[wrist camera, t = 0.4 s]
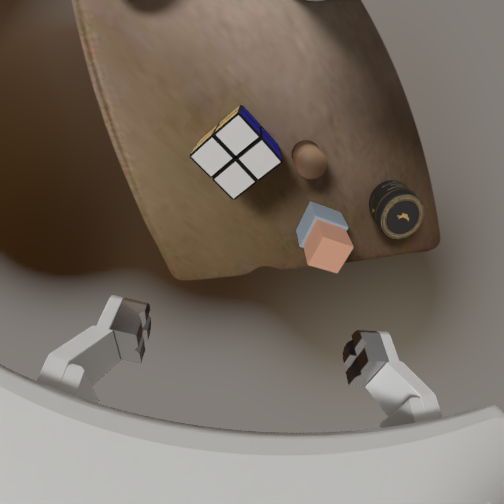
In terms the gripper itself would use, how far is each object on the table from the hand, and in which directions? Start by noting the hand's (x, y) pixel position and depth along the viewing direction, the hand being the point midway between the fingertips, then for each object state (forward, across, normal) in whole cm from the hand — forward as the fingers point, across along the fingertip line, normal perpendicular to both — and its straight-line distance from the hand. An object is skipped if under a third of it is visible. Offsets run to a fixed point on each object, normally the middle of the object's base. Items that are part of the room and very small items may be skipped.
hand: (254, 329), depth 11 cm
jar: (+45, -30, +9) cm, 54 cm away
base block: (+44, -16, +17) cm, 51 cm away
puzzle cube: (+45, +2, +5) cm, 45 cm away
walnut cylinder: (+44, -10, +4) cm, 46 cm away
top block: (+38, -16, +17) cm, 45 cm away
